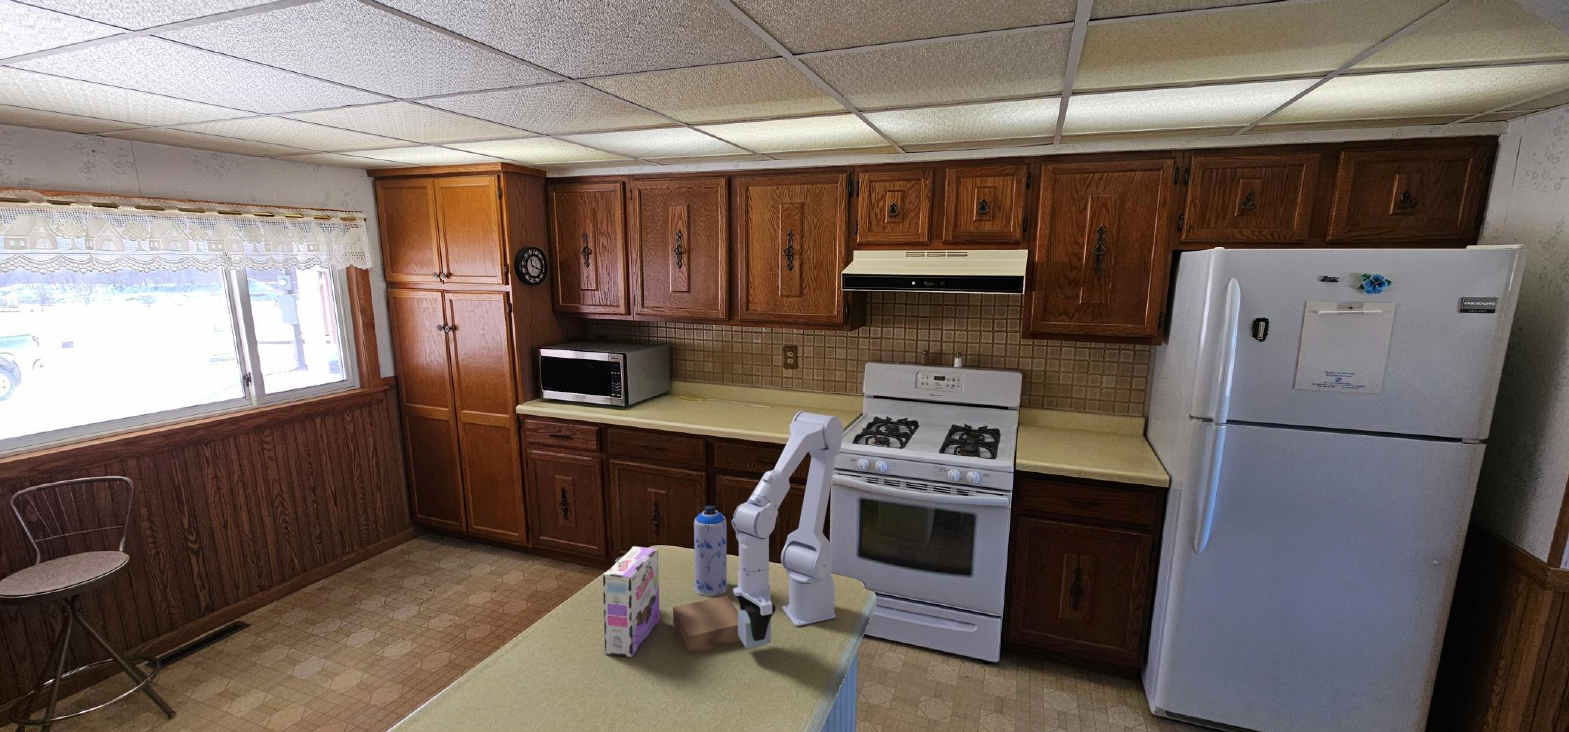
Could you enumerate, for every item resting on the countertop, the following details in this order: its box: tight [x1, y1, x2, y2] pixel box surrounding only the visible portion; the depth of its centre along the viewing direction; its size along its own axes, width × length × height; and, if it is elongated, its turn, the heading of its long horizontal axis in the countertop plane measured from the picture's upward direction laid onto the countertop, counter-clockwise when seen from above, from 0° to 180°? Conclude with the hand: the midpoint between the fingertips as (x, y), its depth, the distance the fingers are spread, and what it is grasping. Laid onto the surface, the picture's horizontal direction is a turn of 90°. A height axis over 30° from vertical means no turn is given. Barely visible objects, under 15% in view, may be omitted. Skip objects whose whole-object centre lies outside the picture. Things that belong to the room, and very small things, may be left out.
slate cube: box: [737, 609, 772, 649], centre depth 119 cm, size 5×5×5 cm
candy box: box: [602, 546, 660, 658], centre depth 124 cm, size 14×6×16 cm, turn 168°
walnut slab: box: [672, 595, 742, 655], centre depth 127 cm, size 12×12×4 cm
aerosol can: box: [693, 504, 729, 597], centre depth 144 cm, size 8×8×20 cm
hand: (754, 631), depth 119 cm, fingers closed on slate cube, 5 cm apart
